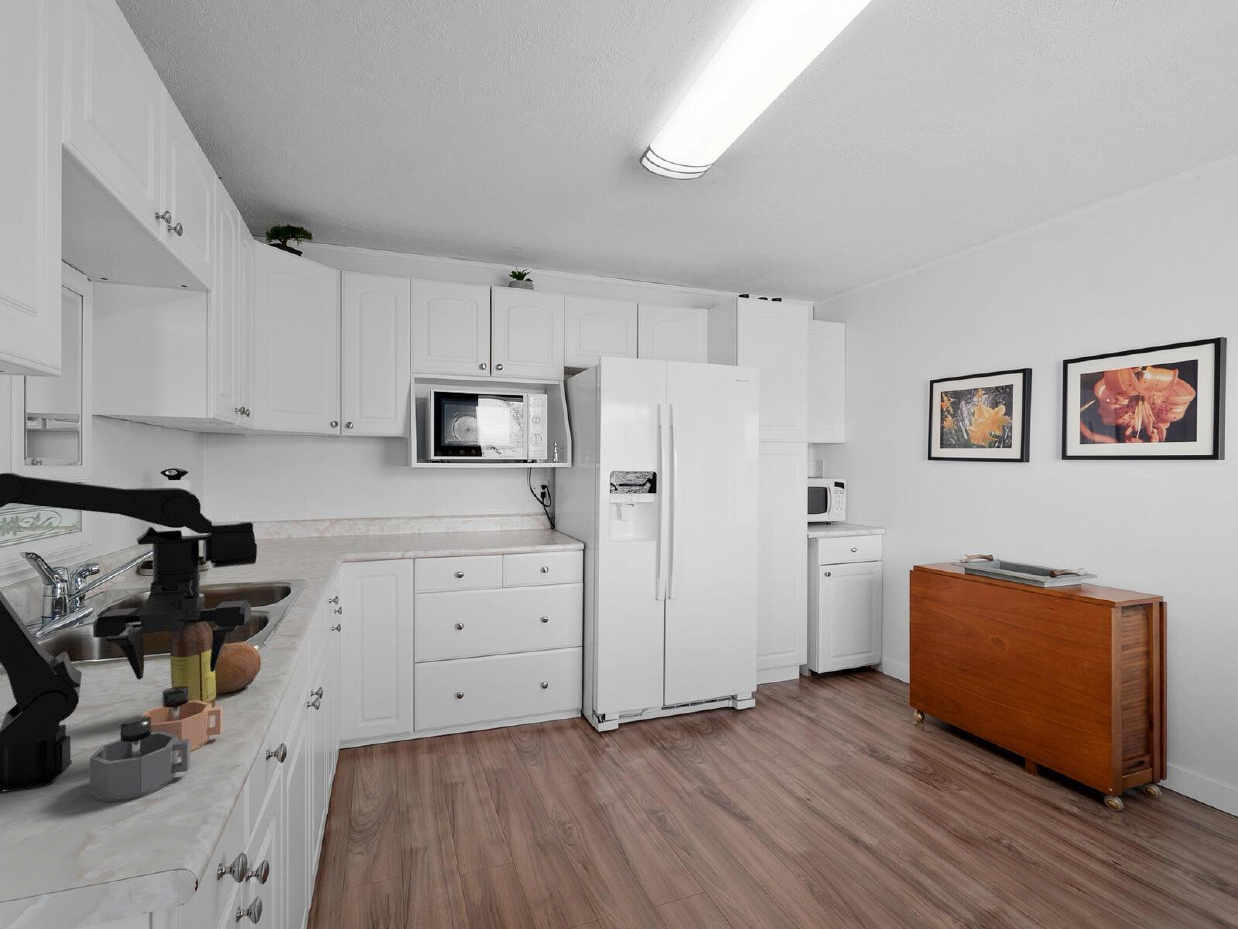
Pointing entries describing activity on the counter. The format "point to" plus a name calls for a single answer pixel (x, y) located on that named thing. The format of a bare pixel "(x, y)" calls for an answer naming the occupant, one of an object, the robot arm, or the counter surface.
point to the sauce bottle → (193, 660)
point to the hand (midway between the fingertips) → (177, 674)
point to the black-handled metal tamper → (175, 699)
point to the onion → (236, 667)
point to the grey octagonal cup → (137, 767)
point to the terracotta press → (188, 722)
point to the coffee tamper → (135, 732)
